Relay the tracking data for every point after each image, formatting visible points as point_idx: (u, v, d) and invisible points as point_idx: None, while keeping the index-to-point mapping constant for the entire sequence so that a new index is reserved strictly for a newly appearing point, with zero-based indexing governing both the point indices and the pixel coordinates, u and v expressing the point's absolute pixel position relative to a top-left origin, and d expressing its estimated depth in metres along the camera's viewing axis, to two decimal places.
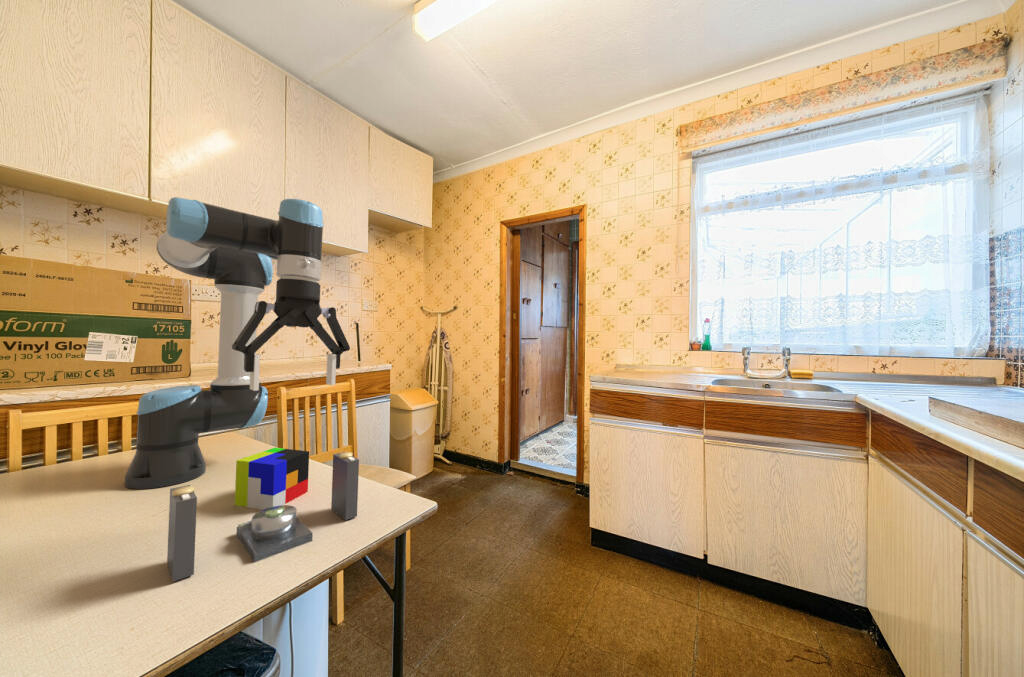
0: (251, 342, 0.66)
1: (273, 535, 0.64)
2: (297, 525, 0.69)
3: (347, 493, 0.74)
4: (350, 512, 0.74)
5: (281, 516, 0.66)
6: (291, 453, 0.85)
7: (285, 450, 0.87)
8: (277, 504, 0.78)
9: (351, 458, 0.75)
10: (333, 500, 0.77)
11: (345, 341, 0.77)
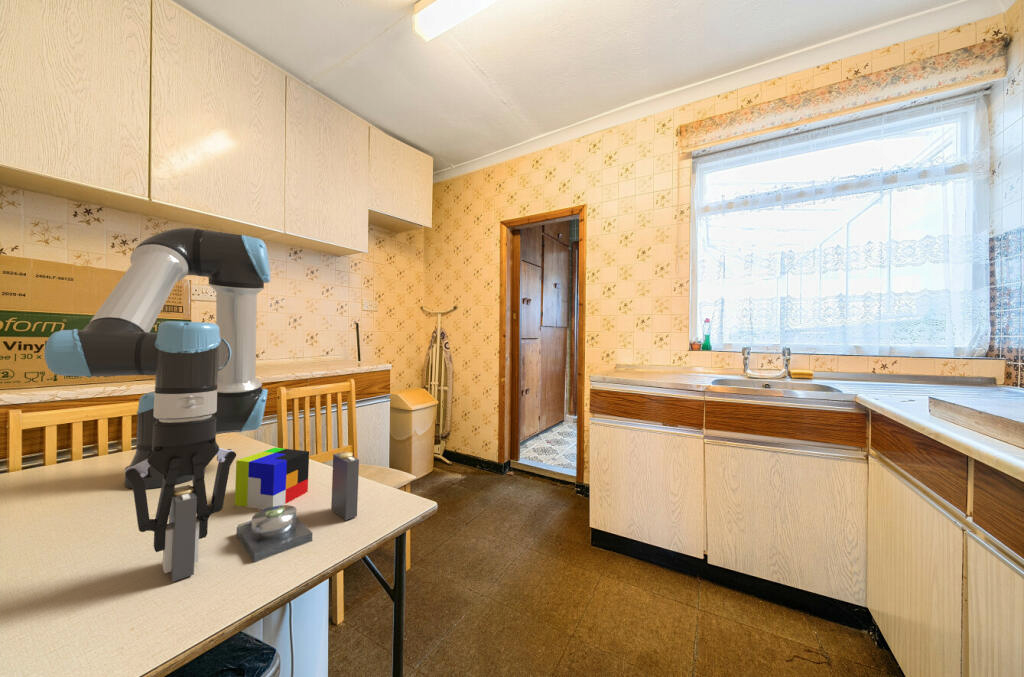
0: (156, 513, 0.56)
1: (273, 535, 0.64)
2: (297, 525, 0.69)
3: (347, 493, 0.74)
4: (350, 512, 0.74)
5: (281, 516, 0.66)
6: (291, 453, 0.85)
7: (285, 450, 0.87)
8: (277, 504, 0.78)
9: (351, 458, 0.75)
10: (333, 500, 0.77)
11: (222, 498, 0.60)
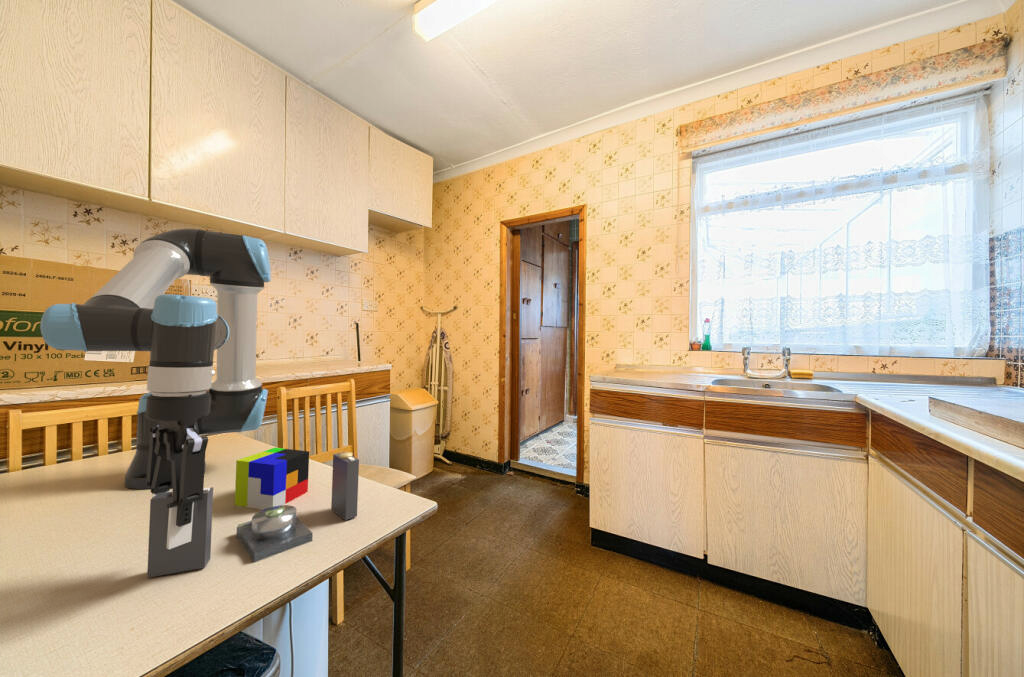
0: (178, 491, 0.54)
1: (273, 535, 0.64)
2: (297, 525, 0.69)
3: (347, 493, 0.74)
4: (350, 512, 0.74)
5: (281, 516, 0.66)
6: (291, 453, 0.85)
7: (285, 450, 0.87)
8: (277, 504, 0.78)
9: (351, 458, 0.75)
10: (333, 500, 0.77)
11: None
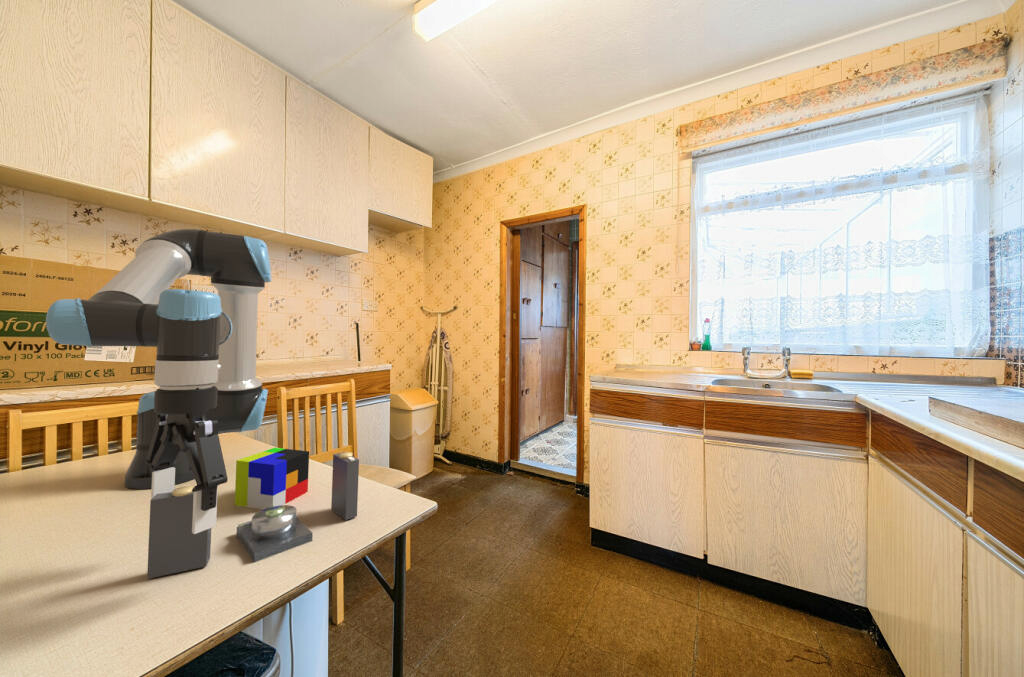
0: (200, 474, 0.53)
1: (273, 535, 0.64)
2: (297, 525, 0.69)
3: (347, 493, 0.74)
4: (350, 512, 0.74)
5: (281, 516, 0.66)
6: (291, 453, 0.85)
7: (285, 450, 0.87)
8: (277, 504, 0.78)
9: (351, 458, 0.75)
10: (333, 500, 0.77)
11: None
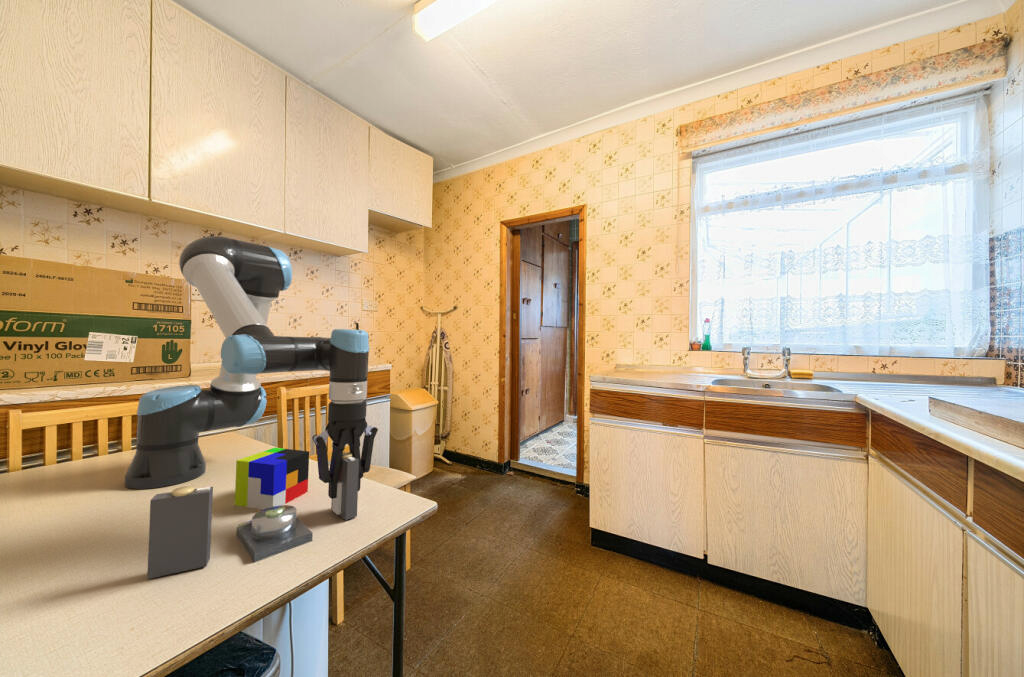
0: (329, 471, 0.75)
1: (273, 535, 0.64)
2: (297, 525, 0.69)
3: (347, 493, 0.74)
4: (350, 512, 0.74)
5: (281, 516, 0.66)
6: (291, 453, 0.85)
7: (285, 450, 0.87)
8: (277, 504, 0.78)
9: (351, 458, 0.75)
10: None
11: (369, 462, 0.80)
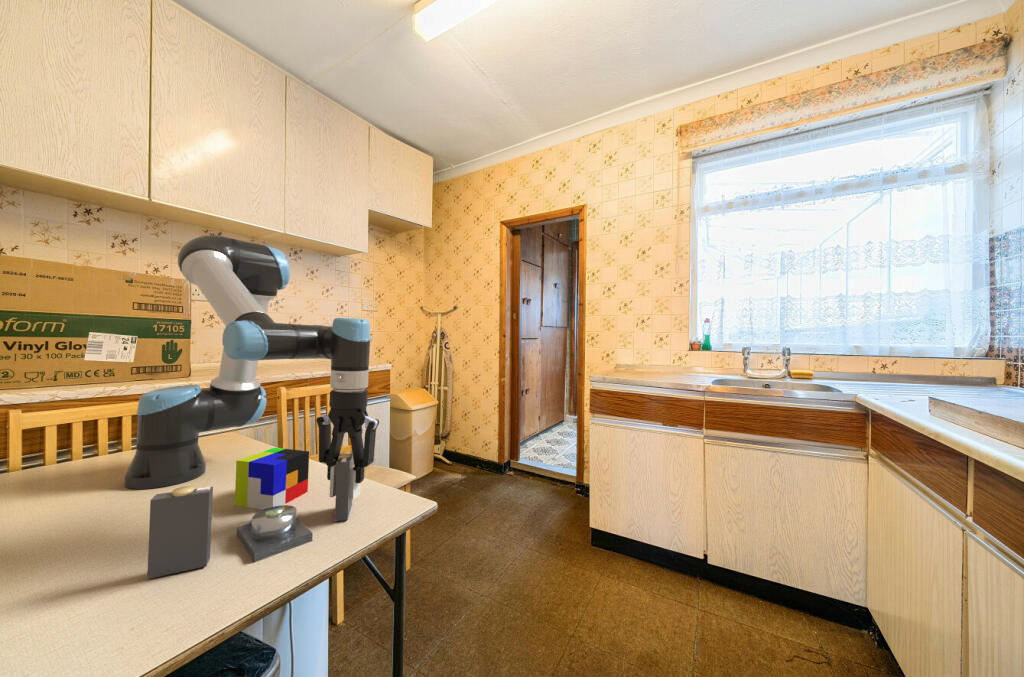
0: None
1: (273, 535, 0.64)
2: (297, 525, 0.69)
3: (336, 493, 0.73)
4: (339, 514, 0.73)
5: (281, 516, 0.66)
6: (291, 453, 0.85)
7: (285, 450, 0.87)
8: (277, 504, 0.78)
9: (343, 459, 0.74)
10: None
11: (367, 457, 0.76)
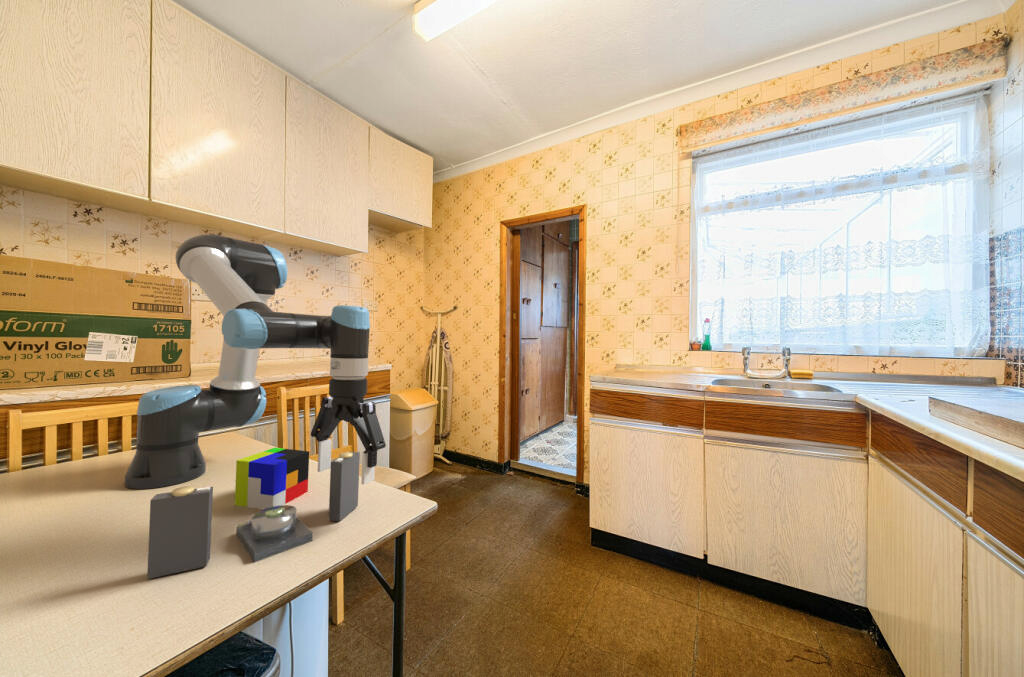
0: None
1: (273, 535, 0.64)
2: (297, 525, 0.69)
3: (330, 493, 0.73)
4: (333, 514, 0.73)
5: (281, 516, 0.66)
6: (291, 453, 0.85)
7: (285, 450, 0.87)
8: (277, 504, 0.78)
9: (338, 459, 0.74)
10: None
11: (373, 439, 0.72)
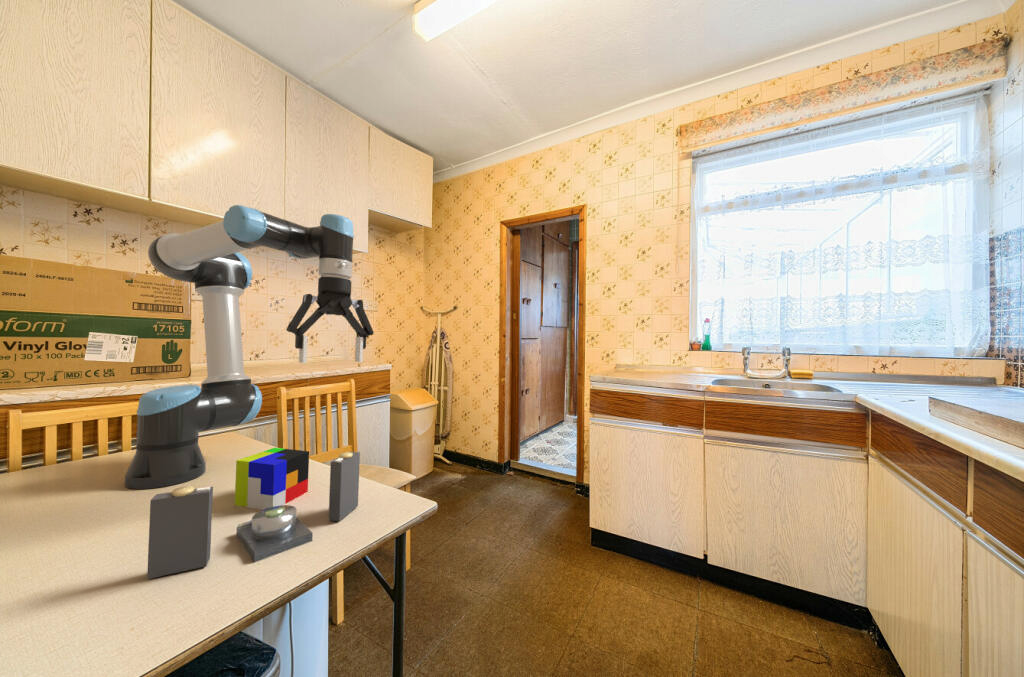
0: (300, 326, 0.85)
1: (273, 535, 0.64)
2: (297, 525, 0.69)
3: (330, 493, 0.73)
4: (332, 514, 0.73)
5: (281, 516, 0.66)
6: (291, 453, 0.85)
7: (285, 450, 0.87)
8: (277, 504, 0.78)
9: (338, 459, 0.74)
10: None
11: (370, 326, 0.96)
